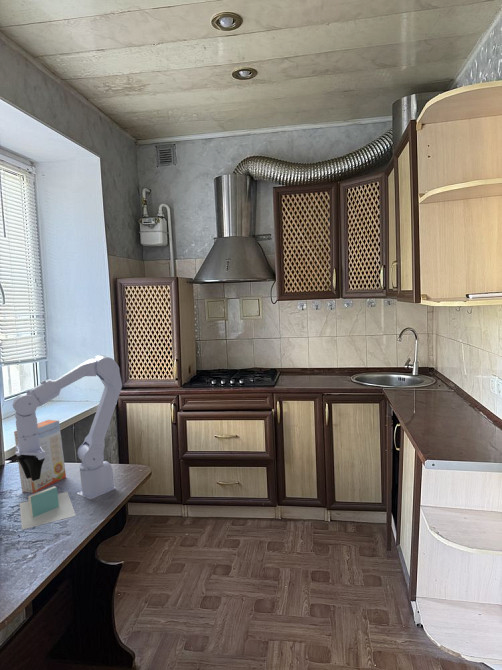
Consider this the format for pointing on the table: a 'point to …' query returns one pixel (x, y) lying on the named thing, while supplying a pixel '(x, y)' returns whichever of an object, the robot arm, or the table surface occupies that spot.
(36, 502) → the tile
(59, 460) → the cracker box
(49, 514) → the mat
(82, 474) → the robot arm
